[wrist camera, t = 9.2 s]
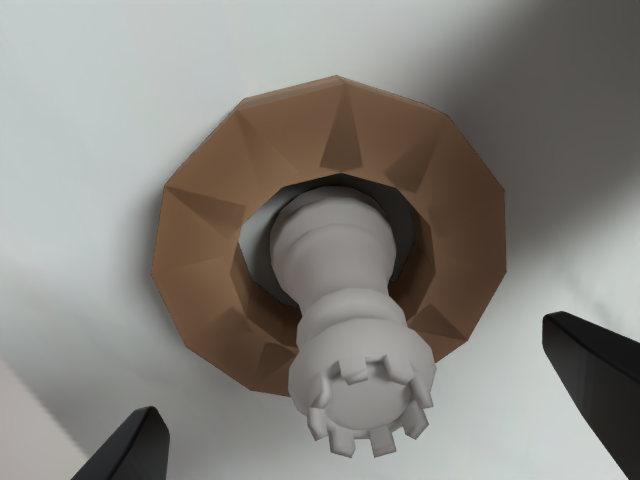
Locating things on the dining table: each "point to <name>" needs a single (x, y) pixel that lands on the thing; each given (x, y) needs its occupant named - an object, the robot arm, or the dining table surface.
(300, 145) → the walnut bead ring
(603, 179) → the dining table surface
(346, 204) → the rook chess piece
